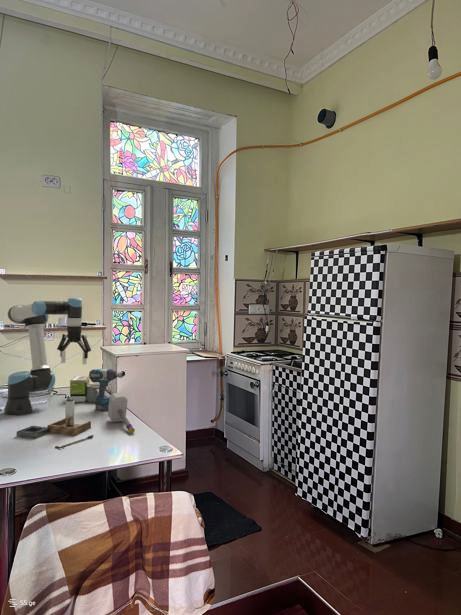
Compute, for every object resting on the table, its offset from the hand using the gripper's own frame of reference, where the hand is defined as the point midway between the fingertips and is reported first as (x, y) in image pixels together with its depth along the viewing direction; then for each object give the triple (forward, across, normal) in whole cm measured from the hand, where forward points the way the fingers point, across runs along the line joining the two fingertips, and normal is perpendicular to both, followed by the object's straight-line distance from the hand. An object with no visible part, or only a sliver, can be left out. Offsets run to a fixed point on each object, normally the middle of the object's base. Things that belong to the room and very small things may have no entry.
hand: (73, 363), depth 244 cm
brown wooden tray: (+32, -10, +17) cm, 37 cm away
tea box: (+32, +26, -45) cm, 61 cm away
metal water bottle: (+30, -10, +17) cm, 36 cm away
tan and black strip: (+32, -26, +34) cm, 53 cm away
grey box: (+32, +14, -44) cm, 56 cm away
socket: (+32, +2, +29) cm, 43 cm away
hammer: (+32, -32, +2) cm, 45 cm away
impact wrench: (+32, -4, -28) cm, 43 cm away
